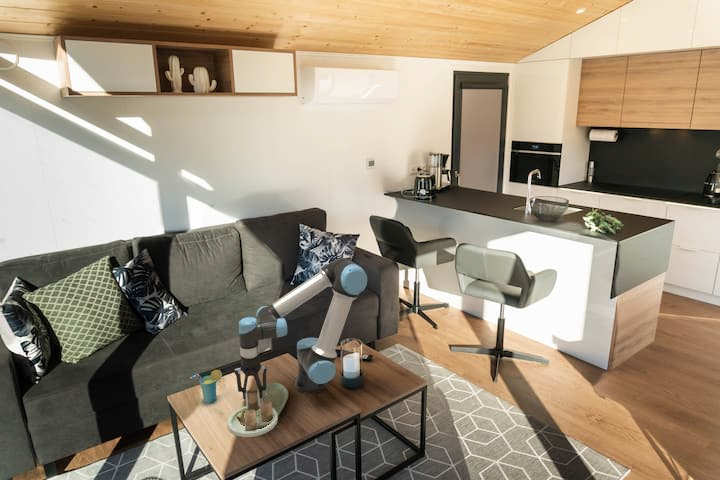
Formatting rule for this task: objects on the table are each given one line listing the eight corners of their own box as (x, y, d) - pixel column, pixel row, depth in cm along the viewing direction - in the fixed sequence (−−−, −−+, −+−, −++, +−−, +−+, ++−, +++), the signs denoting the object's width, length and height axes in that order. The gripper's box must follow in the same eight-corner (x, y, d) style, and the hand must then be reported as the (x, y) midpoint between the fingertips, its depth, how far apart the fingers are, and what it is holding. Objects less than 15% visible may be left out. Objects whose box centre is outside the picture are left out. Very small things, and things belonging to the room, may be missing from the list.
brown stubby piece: (258, 411, 207) (257, 394, 205) (247, 411, 207) (246, 394, 205) (259, 405, 212) (258, 388, 210) (248, 405, 211) (247, 388, 209)
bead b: (257, 426, 201) (256, 409, 199) (256, 433, 197) (255, 415, 195) (246, 427, 201) (244, 410, 199) (244, 434, 196) (243, 416, 194)
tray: (279, 407, 215) (278, 402, 214) (275, 436, 196) (275, 431, 195) (232, 411, 213) (232, 406, 213) (224, 440, 194) (224, 435, 193)
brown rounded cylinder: (273, 417, 207) (272, 400, 205) (272, 423, 203) (271, 406, 201) (262, 417, 207) (260, 400, 205) (261, 424, 202) (259, 407, 200)
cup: (196, 411, 214) (192, 380, 210) (190, 403, 220) (186, 373, 216) (226, 399, 222) (224, 369, 218) (219, 392, 228) (217, 362, 224)
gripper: (271, 349, 207) (274, 398, 213) (230, 351, 206) (234, 401, 211) (270, 357, 200) (273, 408, 206) (227, 360, 199) (231, 411, 204)
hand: (253, 404), depth 209 cm, fingers closed on brown stubby piece, 4 cm apart
